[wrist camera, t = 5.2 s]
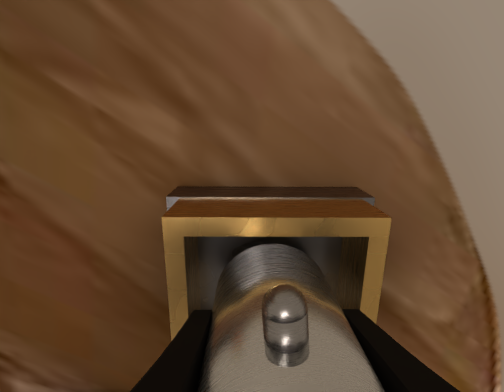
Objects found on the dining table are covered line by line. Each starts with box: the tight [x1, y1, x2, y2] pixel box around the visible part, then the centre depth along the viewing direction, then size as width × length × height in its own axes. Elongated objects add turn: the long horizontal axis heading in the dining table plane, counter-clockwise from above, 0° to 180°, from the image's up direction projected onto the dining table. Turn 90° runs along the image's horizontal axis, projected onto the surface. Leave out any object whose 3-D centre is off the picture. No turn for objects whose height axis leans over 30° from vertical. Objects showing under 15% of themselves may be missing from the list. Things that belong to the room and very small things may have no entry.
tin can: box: [197, 244, 385, 392], centre depth 8 cm, size 6×4×6 cm
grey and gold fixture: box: [162, 187, 392, 341], centre depth 13 cm, size 12×9×4 cm
